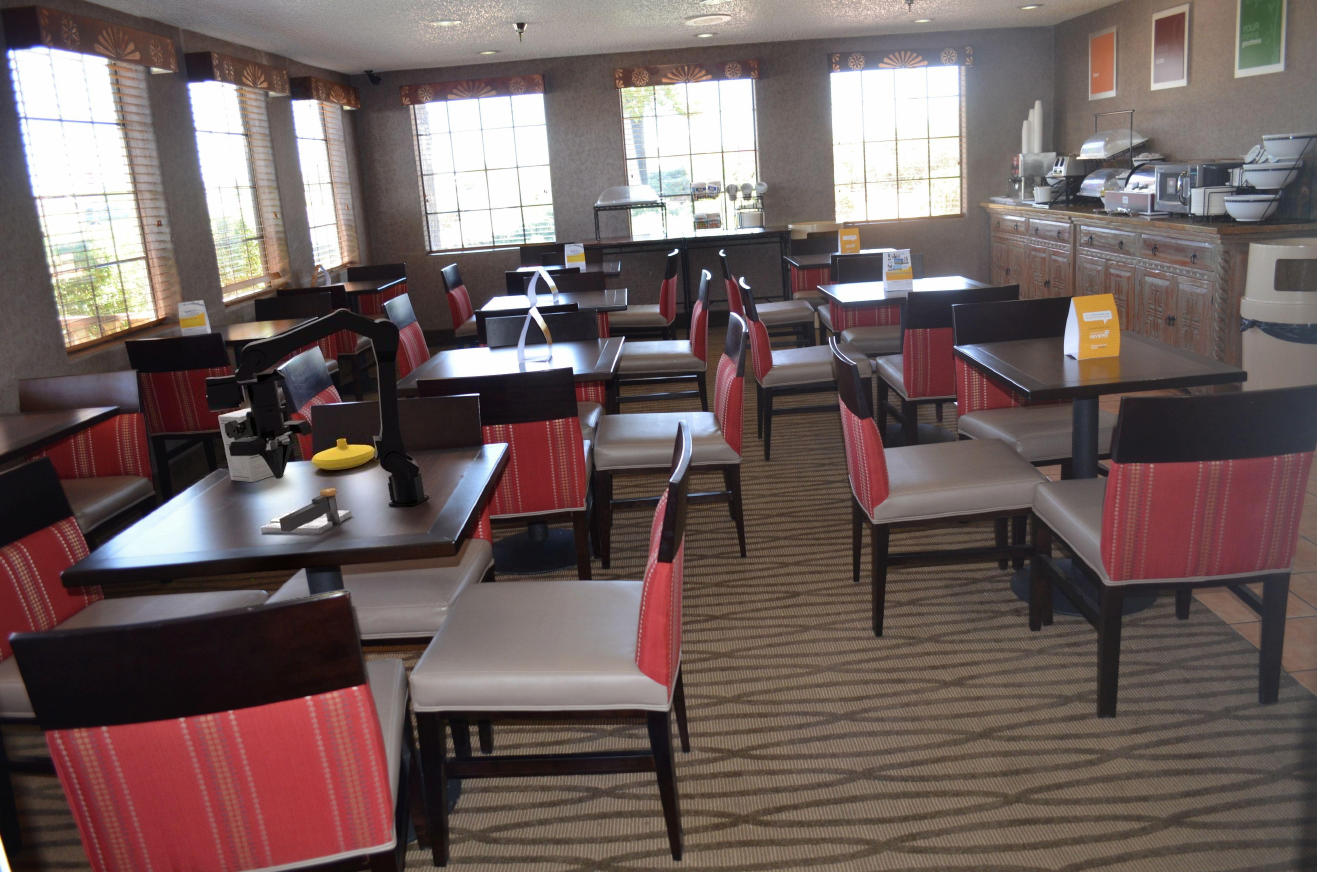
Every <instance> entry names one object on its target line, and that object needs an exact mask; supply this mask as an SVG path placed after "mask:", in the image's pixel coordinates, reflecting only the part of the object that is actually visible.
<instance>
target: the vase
mask: <svg viewBox="0 0 1317 872" xmlns="http://www.w3.org/2000/svg"><path fill="white" fill-rule="evenodd" d="M336 443H337V444H336V446H335V447H331V448H328V449H325V450H323V451H320V452H318V453H316V454H315V455H313V457H312V458H311V463H312V464H313V466H314V467H316V468H319V469H323V470H325V471H326V470H327V471H329V470H330V471H338V470H341V471H342V470H346V469H352V468H355V467H359V466H361V465H363V464H366V463H367V462H369V461H370V460H371V459H373V458H375V455H374V450H375V447H373V446H372V445H368V444H367V445H366V444H348V443H347V438H339V439H337V440H336Z"/></svg>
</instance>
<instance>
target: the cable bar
mask: <svg viewBox="0 0 1317 872" xmlns="http://www.w3.org/2000/svg"><path fill="white" fill-rule="evenodd" d="M319 494H320V495H318V496H316V497H314V498H312V499H311V503H310V504H307V505H305V506H303V507H301V508H299V509H296V510H297V511H295V512H293V513H291V514H289V515H286V516H284V517H282V518H280V519H279V521H280V526H281V531H284V532H290V531H292V530H294V529H296V528H298V527H300V526H302V525H304V524H306V523H308V522H310V521H312V520H314V519H316V518H318V517H320V516H322V515H324V514H326V513H328V512H330V510H329V504H328V500H327V497H329V496H333V495H335V496H336V495H337V494H338V491H337V488H334V487H333V488H332V487H331V488H326V489H325V488H324V489H322V490H320V491H319Z"/></svg>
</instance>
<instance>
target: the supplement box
mask: <svg viewBox="0 0 1317 872" xmlns="http://www.w3.org/2000/svg"><path fill="white" fill-rule="evenodd" d="M249 411H251V408H250V407H248V408H244V409H240V410H236V411H231V412H229V413H225V414H220V415H218V416H217V419H218V422H219V427H220V432H221V436H222V438H221V439H222V442H223V445H224V446H223V447H224V452H225V456H226V460H227V465H228V470H229V477H230V480H231V481H238V482H239V481H240V482H250V483H255V482H258V481H261V480H263V479H267V478H269V477H273V476H274V474H273V473H272V471H271V469H270V468H269V466H268V465H267V463H266V461H265V460H264V459H263V457H262V456H260V455H259V454H258V455H254V456H230V451H229V445H230V443H231V442H233V441H235V440H234V438H231V439H230V438H228V437H227V435H226V433H225V425H224V424H226V423H228V422H230V421H233V420H236V421H237V422H238V423H240V422H242V421H245V420H247V418H246V414H247V412H249ZM248 438H253V437H248ZM267 440H268V439H267ZM274 477H275V476H274Z"/></svg>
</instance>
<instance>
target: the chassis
mask: <svg viewBox="0 0 1317 872" xmlns="http://www.w3.org/2000/svg"><path fill="white" fill-rule="evenodd" d="M327 500H328V504H329V510H330V512H328V513H326V514H324V515H322V516H320V517H318V518H316V519H314V520H312V521H310V522H308V523H306V524H304V525H302V526H300V527H298V528H296V529H294V530H292V531H290V532H284V531H281V526H280V521H279V519H280V518H282V517H284V516H286V515H289V514H291V513H293V512H295V511H297V510H298V509H294V510H291V512H288V513H287V512H286V513H283V514H281V515H279V516H277V517H275V518H273V519H272V520H269V522H268V523H266V524H264V525H262V526H260V531H261V534H292V535H293V534H296V535H297V534H302V535H303V534H304V535H305V534H307V535H310V534H311V535H321V534H322V533H324V532H326V531H328V530H330V529H331V528H333V527H337V526H339V525H341V522H343V521H345V520H347V519H349V518H351V517H352V516H353V515H352V510H342V509H340V510H339V509H338V503H337V498H336V494H335V495H333V496H329V497H327Z"/></svg>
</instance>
